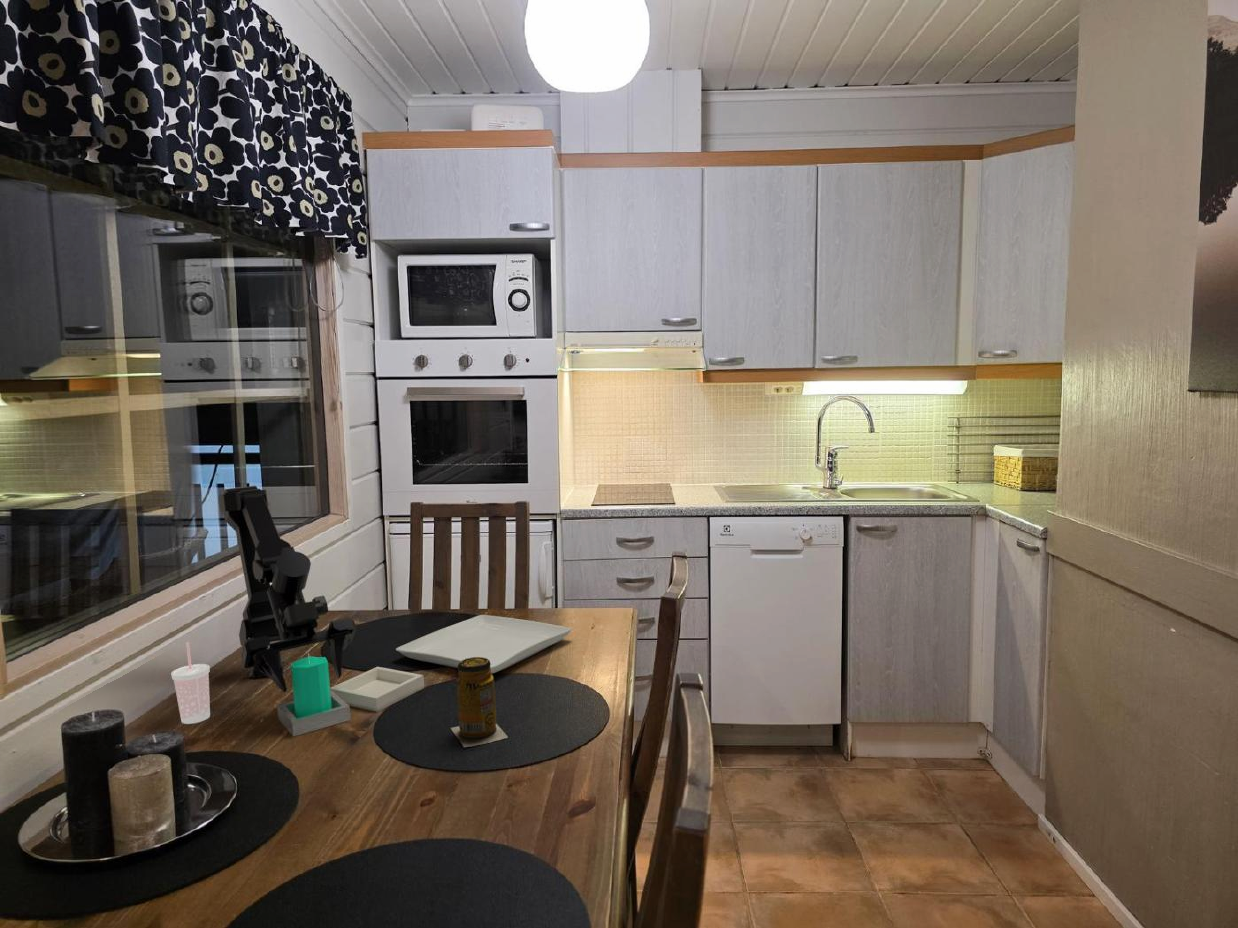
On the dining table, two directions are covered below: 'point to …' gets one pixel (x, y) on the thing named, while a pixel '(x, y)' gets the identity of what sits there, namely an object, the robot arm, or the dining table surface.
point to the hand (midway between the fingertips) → (313, 683)
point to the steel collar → (313, 716)
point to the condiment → (476, 704)
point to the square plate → (485, 641)
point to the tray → (378, 688)
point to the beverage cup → (192, 691)
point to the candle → (311, 686)
